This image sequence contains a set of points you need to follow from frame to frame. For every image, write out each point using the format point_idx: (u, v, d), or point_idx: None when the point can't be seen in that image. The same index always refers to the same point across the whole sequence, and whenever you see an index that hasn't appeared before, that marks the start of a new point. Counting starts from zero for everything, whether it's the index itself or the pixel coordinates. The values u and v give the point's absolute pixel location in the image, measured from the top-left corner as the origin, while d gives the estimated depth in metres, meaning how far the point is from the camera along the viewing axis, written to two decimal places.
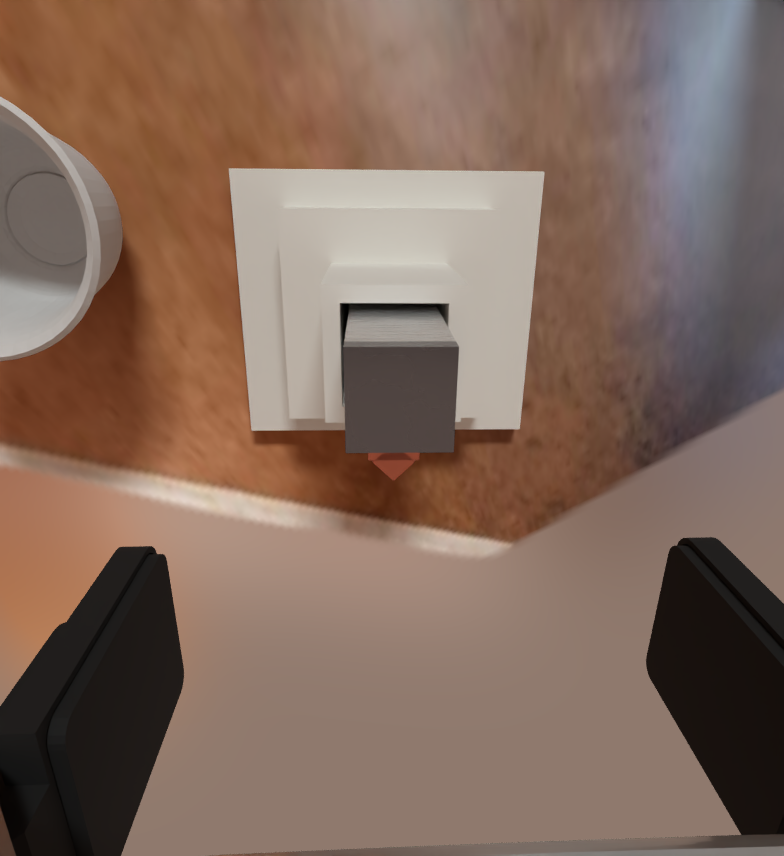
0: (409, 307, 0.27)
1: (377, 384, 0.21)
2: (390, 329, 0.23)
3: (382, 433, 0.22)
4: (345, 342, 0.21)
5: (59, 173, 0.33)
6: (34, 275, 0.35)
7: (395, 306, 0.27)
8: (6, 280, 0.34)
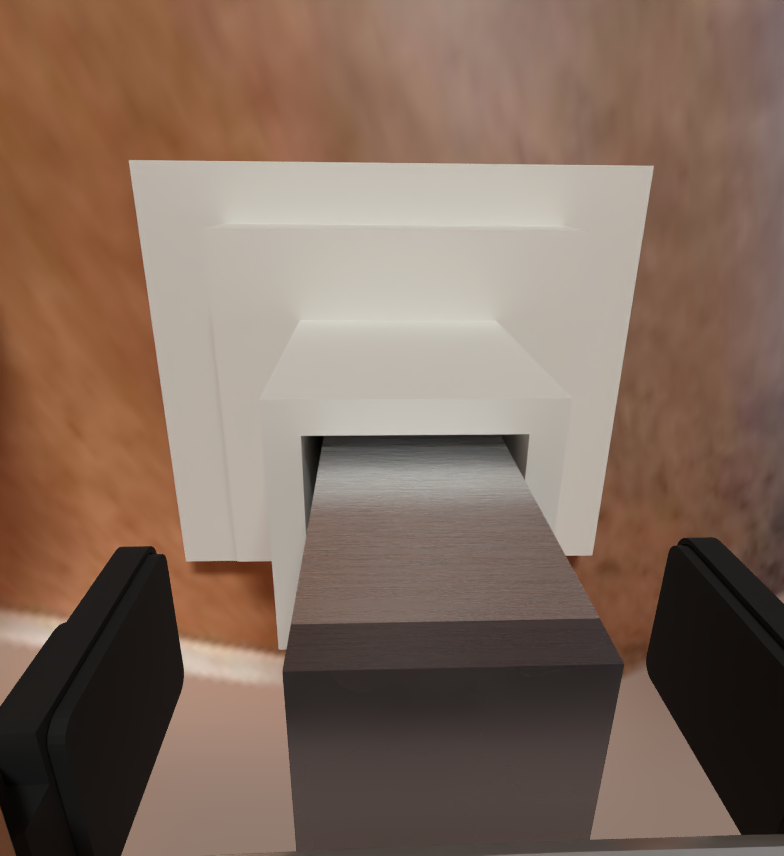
0: None
1: (384, 753, 0.07)
2: (413, 539, 0.09)
3: None
4: (293, 632, 0.07)
5: None
6: None
7: None
8: None
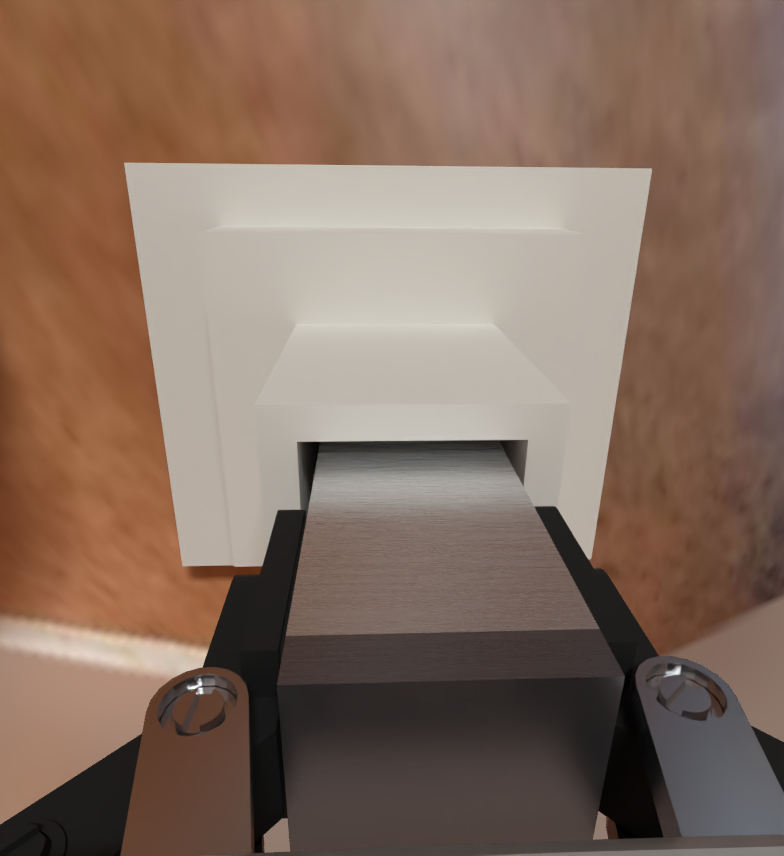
0: None
1: (380, 768, 0.07)
2: (410, 548, 0.09)
3: None
4: (288, 644, 0.07)
5: None
6: None
7: None
8: None
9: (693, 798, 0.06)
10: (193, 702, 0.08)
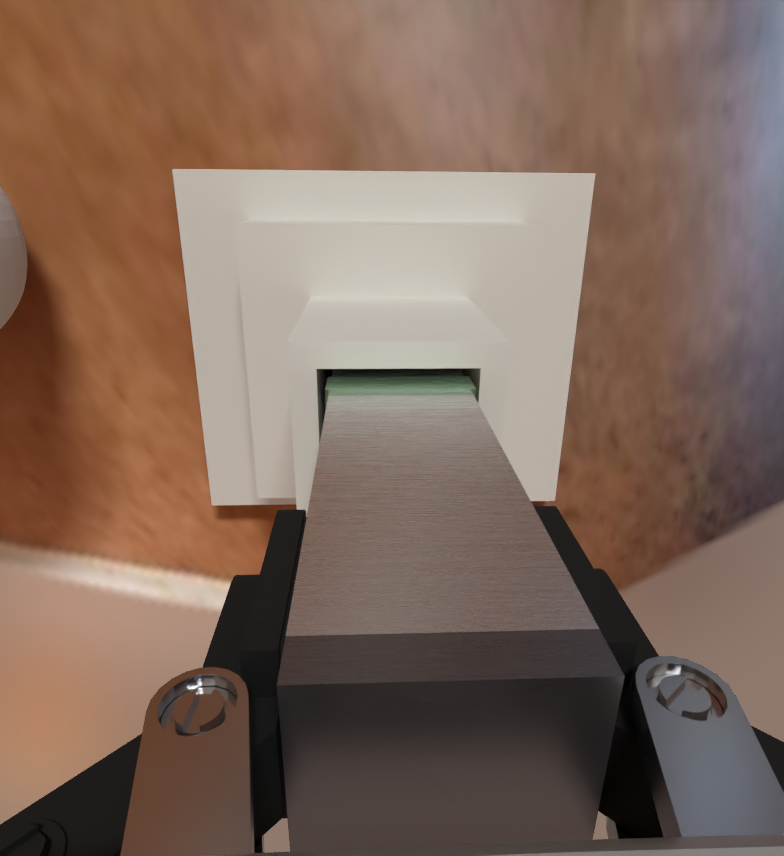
0: (440, 437, 0.14)
1: (380, 768, 0.07)
2: (410, 548, 0.09)
3: None
4: (288, 645, 0.07)
5: None
6: None
7: (412, 433, 0.14)
8: None
9: (693, 798, 0.06)
10: (193, 702, 0.08)
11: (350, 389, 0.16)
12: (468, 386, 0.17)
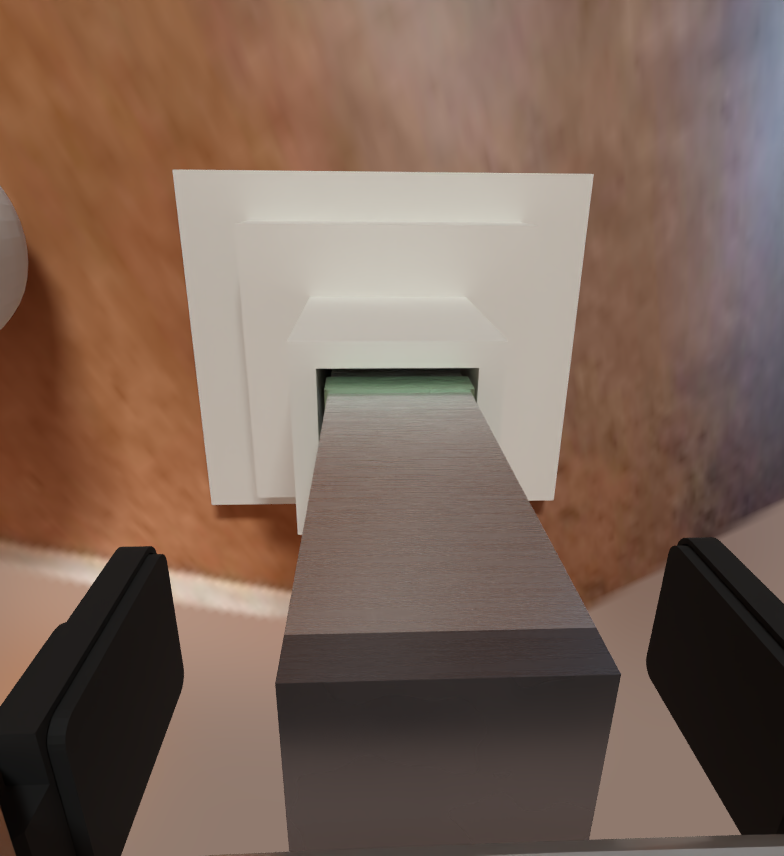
0: (439, 437, 0.14)
1: (378, 765, 0.07)
2: (408, 547, 0.09)
3: None
4: (286, 643, 0.07)
5: None
6: None
7: (411, 433, 0.14)
8: None
9: None
10: None
11: (349, 389, 0.17)
12: (467, 386, 0.17)
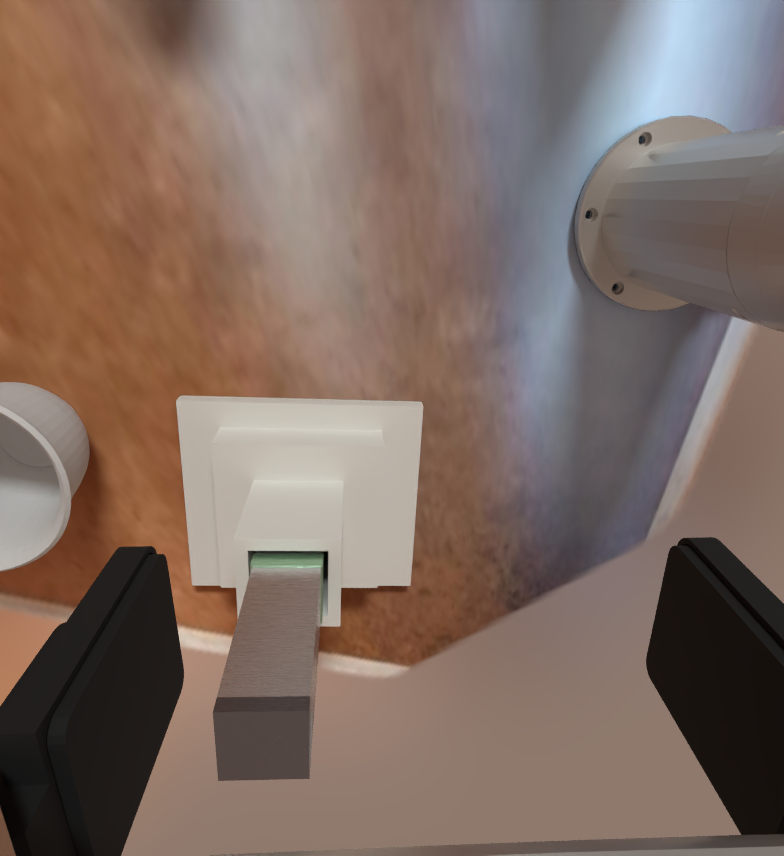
0: (294, 602, 0.32)
1: (242, 735, 0.25)
2: (263, 664, 0.28)
3: (248, 767, 0.26)
4: (217, 700, 0.26)
5: None
6: (17, 476, 0.43)
7: (282, 599, 0.32)
8: None
9: None
10: None
11: (262, 565, 0.35)
12: (319, 563, 0.35)
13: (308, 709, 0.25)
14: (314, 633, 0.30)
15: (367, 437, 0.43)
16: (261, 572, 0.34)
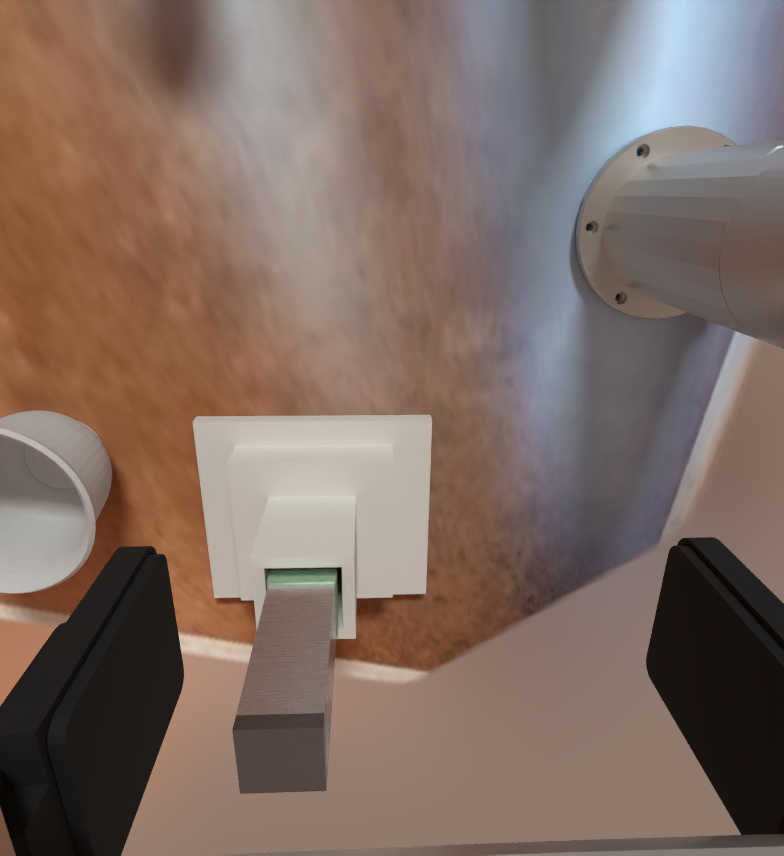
0: (308, 619, 0.33)
1: (261, 751, 0.27)
2: (279, 681, 0.29)
3: (268, 780, 0.28)
4: (236, 718, 0.27)
5: None
6: (45, 498, 0.45)
7: (297, 616, 0.33)
8: (23, 506, 0.45)
9: None
10: None
11: (278, 582, 0.36)
12: (333, 579, 0.36)
13: (322, 726, 0.27)
14: (328, 650, 0.31)
15: (378, 452, 0.45)
16: (277, 589, 0.35)
